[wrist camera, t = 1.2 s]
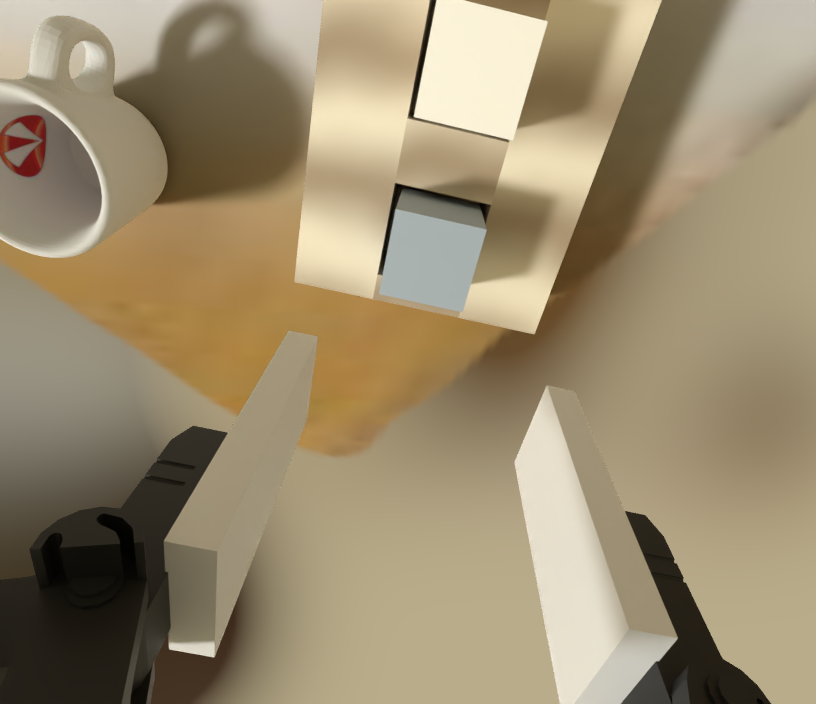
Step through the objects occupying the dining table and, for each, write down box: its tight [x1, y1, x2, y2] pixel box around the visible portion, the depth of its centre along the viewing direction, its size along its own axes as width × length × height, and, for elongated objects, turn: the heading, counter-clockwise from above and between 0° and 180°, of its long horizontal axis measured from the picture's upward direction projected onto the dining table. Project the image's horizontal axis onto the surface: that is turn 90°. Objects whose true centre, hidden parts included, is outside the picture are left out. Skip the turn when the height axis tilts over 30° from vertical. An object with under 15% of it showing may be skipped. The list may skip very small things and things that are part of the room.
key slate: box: [379, 188, 487, 312], centre depth 25 cm, size 4×4×5 cm
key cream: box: [414, 0, 548, 141], centre depth 21 cm, size 4×4×5 cm
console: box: [294, 0, 662, 334], centre depth 25 cm, size 24×14×5 cm, turn 168°
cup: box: [0, 16, 168, 258], centre depth 26 cm, size 11×8×8 cm
